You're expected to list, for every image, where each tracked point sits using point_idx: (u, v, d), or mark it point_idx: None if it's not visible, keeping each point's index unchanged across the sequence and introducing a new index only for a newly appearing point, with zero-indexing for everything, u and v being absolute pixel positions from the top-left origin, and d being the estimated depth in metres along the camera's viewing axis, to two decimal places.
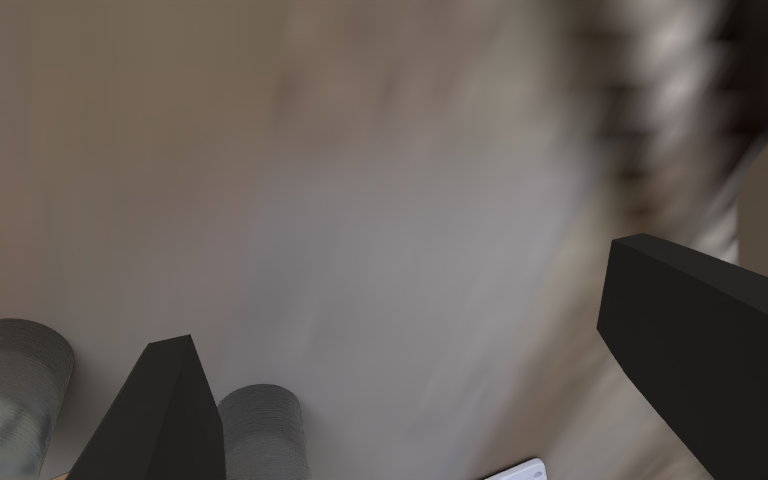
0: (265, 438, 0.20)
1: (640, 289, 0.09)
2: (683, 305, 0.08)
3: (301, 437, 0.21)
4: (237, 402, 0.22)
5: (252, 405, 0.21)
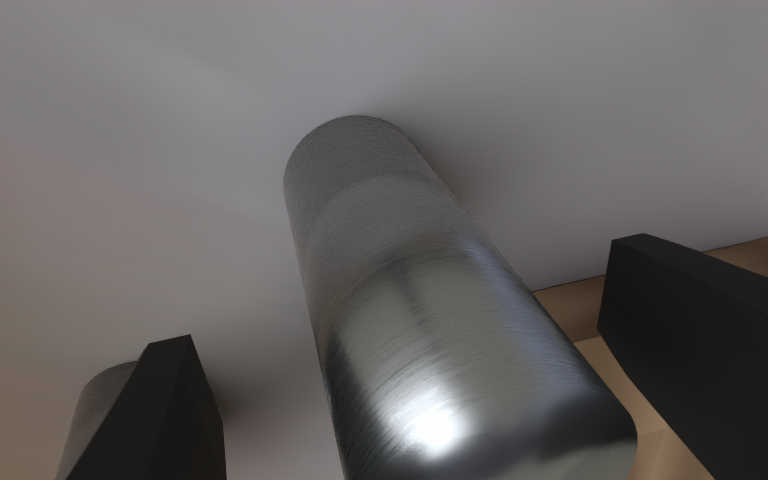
0: (299, 218, 0.11)
1: (640, 289, 0.09)
2: (683, 305, 0.08)
3: (356, 151, 0.11)
4: None
5: (288, 199, 0.13)
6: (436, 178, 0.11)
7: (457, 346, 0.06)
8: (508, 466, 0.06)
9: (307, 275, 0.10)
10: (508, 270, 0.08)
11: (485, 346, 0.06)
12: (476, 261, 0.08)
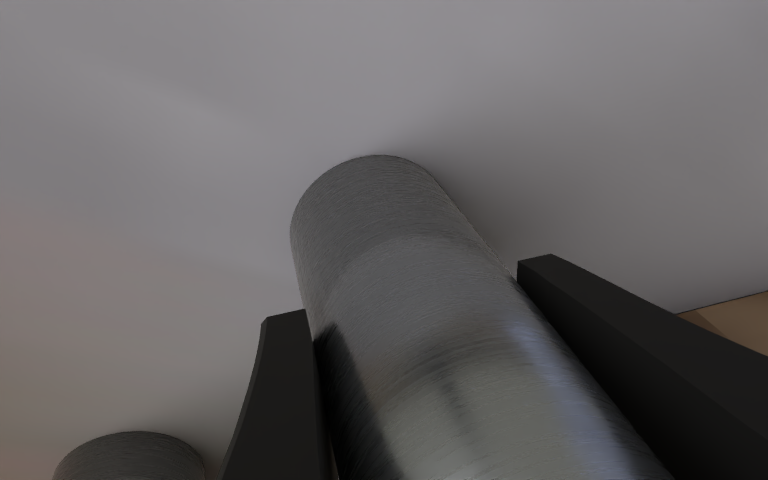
0: (312, 290, 0.09)
1: (542, 313, 0.08)
2: (575, 332, 0.08)
3: (380, 206, 0.09)
4: None
5: (296, 256, 0.11)
6: (479, 240, 0.09)
7: None
8: None
9: (324, 372, 0.08)
10: (595, 390, 0.06)
11: None
12: (557, 383, 0.06)
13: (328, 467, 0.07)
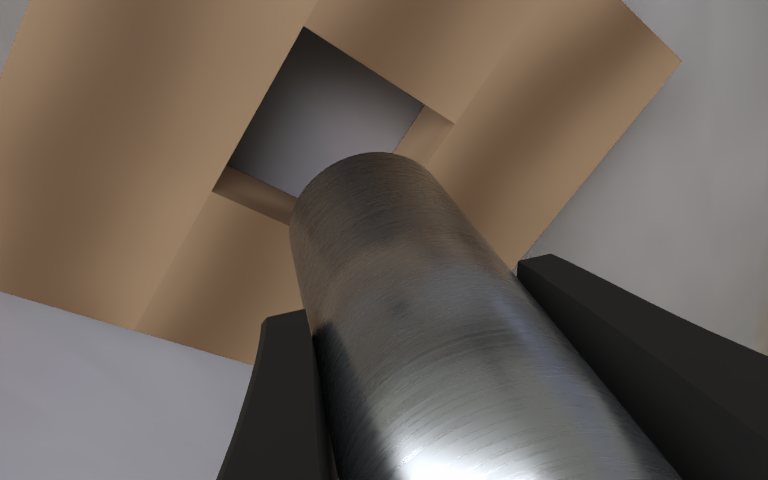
0: (310, 287, 0.09)
1: None
2: (575, 332, 0.08)
3: (377, 202, 0.09)
4: None
5: (295, 254, 0.11)
6: (477, 234, 0.09)
7: None
8: None
9: (322, 369, 0.08)
10: (593, 381, 0.06)
11: None
12: (553, 376, 0.06)
13: (328, 467, 0.07)
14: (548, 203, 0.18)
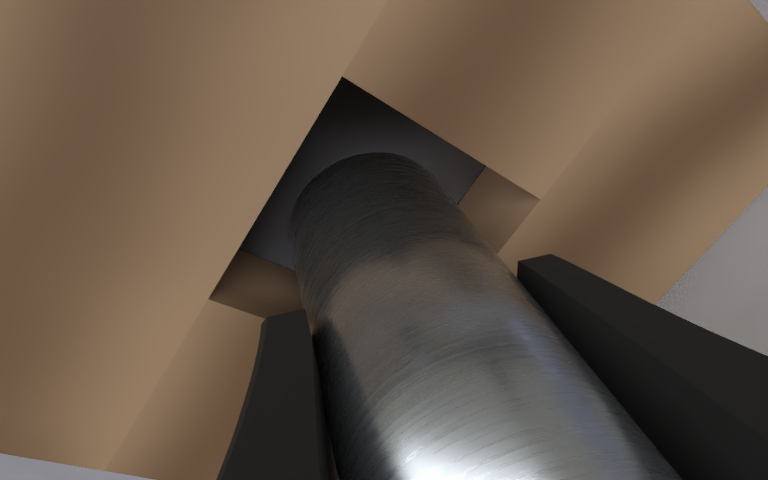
0: (309, 288, 0.09)
1: None
2: (575, 332, 0.08)
3: (377, 203, 0.09)
4: None
5: (295, 254, 0.11)
6: (476, 235, 0.09)
7: None
8: None
9: (322, 369, 0.08)
10: (593, 381, 0.06)
11: None
12: (553, 376, 0.06)
13: (328, 467, 0.07)
14: (647, 290, 0.14)
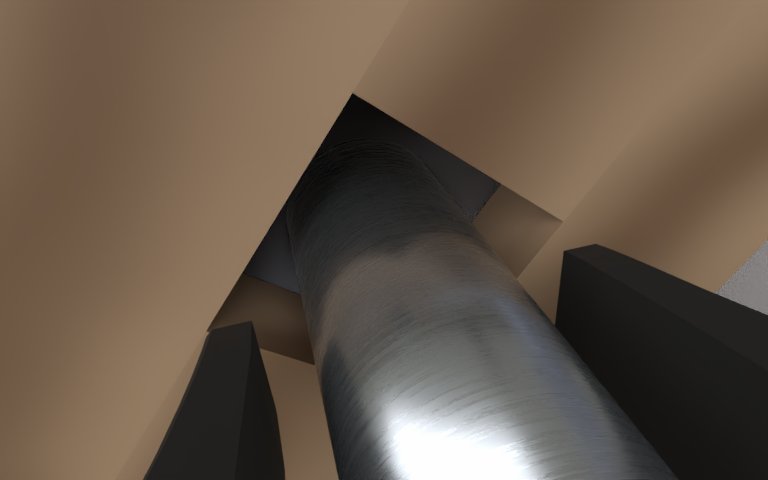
0: (305, 262, 0.10)
1: (589, 301, 0.09)
2: (628, 319, 0.08)
3: (368, 184, 0.10)
4: None
5: (292, 234, 0.11)
6: (460, 214, 0.10)
7: (511, 465, 0.05)
8: None
9: (315, 334, 0.08)
10: (557, 339, 0.07)
11: (547, 465, 0.05)
12: (519, 331, 0.06)
13: None
14: None
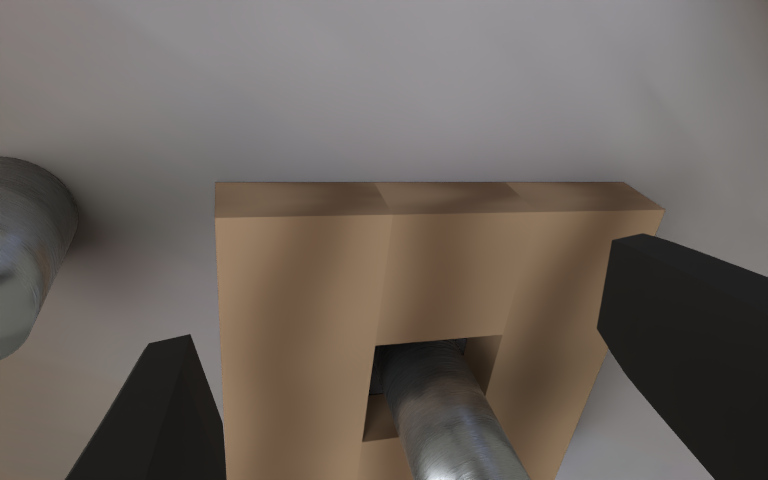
0: (388, 405, 0.21)
1: (640, 289, 0.09)
2: (683, 305, 0.08)
3: (400, 362, 0.21)
4: None
5: None
6: (444, 364, 0.20)
7: None
8: None
9: None
10: (479, 437, 0.18)
11: None
12: (461, 442, 0.17)
13: None
14: None
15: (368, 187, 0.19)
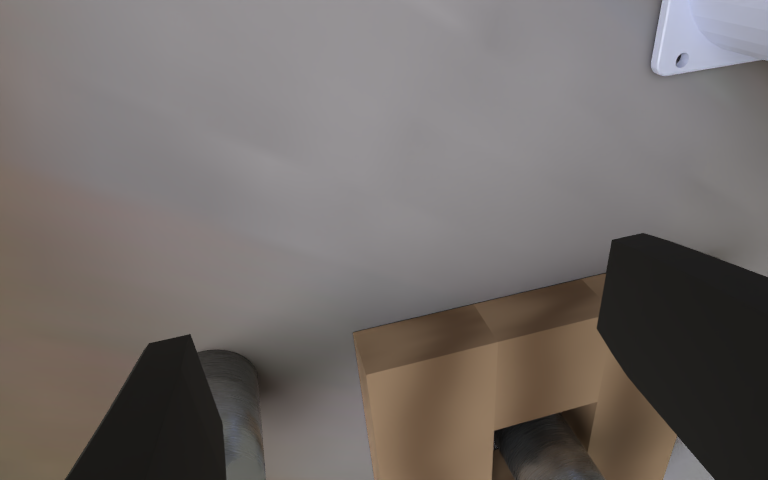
0: (510, 470, 0.26)
1: (640, 289, 0.09)
2: (683, 305, 0.08)
3: (515, 436, 0.25)
4: None
5: (497, 445, 0.27)
6: (552, 436, 0.25)
7: None
8: None
9: None
10: None
11: None
12: None
13: None
14: None
15: (470, 311, 0.23)
